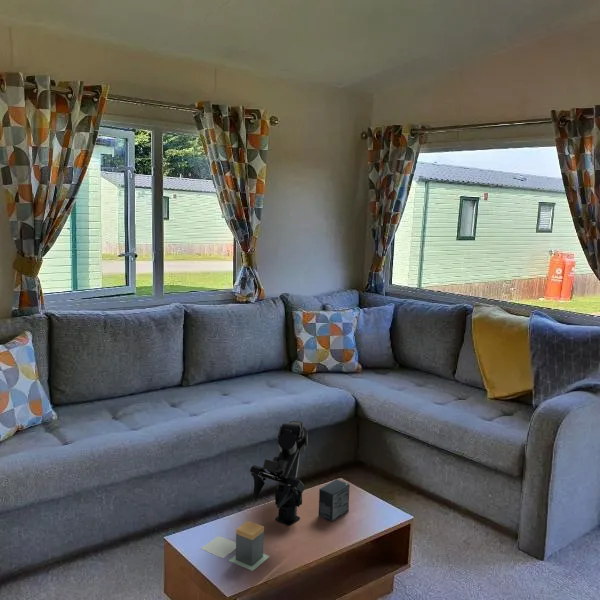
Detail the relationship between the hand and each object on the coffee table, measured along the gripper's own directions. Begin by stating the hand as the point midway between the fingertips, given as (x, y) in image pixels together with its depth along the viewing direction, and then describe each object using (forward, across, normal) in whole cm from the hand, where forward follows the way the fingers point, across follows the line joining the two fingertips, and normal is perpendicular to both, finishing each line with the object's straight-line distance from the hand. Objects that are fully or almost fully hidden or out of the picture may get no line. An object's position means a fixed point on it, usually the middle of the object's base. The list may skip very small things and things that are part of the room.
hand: (265, 503), depth 187 cm
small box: (-11, +10, +31) cm, 34 cm away
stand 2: (+17, +2, +2) cm, 17 cm away
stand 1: (+17, -9, +2) cm, 20 cm away
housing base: (+16, +2, +1) cm, 17 cm away
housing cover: (+10, +2, -5) cm, 12 cm away
